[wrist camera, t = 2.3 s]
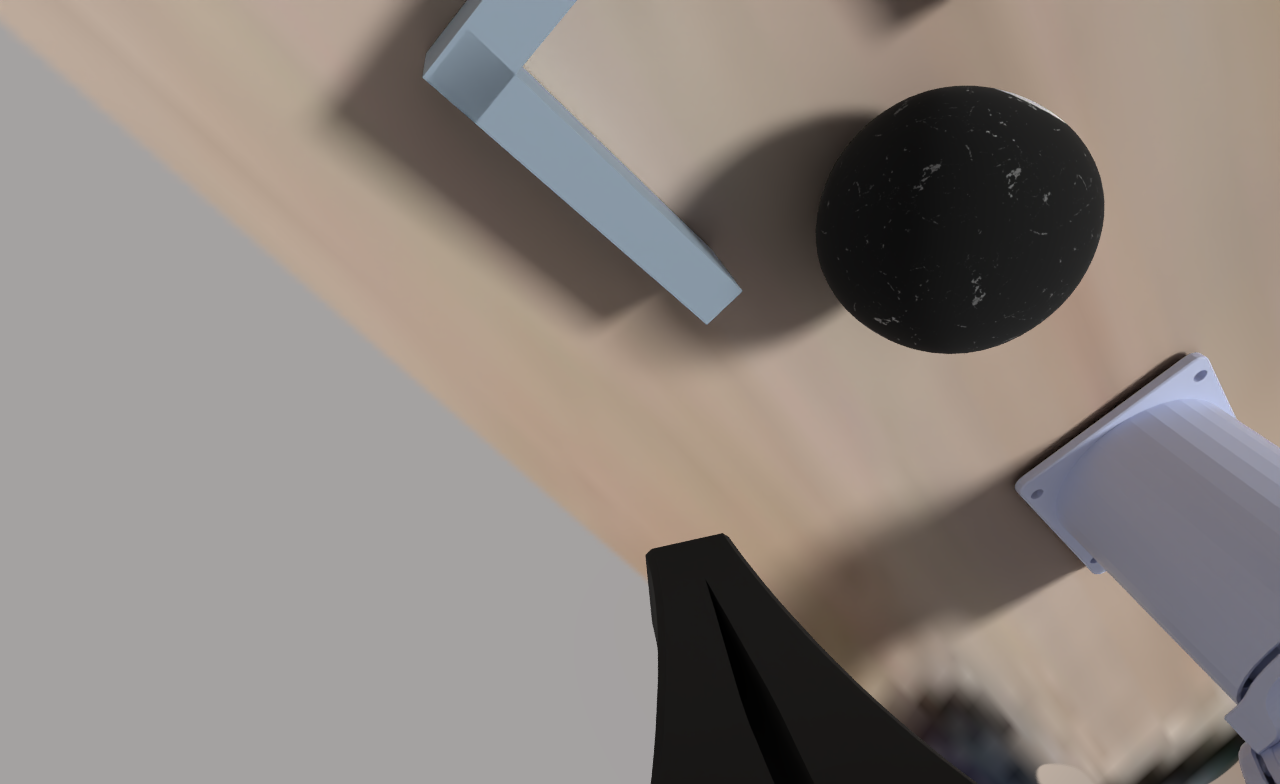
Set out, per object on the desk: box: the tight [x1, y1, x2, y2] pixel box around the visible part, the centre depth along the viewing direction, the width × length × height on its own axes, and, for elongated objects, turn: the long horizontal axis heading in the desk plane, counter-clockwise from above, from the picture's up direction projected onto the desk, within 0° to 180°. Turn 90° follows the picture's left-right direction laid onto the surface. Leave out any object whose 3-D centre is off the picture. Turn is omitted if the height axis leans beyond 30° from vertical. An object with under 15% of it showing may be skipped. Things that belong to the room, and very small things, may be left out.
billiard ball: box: [816, 86, 1104, 354], centre depth 17 cm, size 6×6×6 cm
